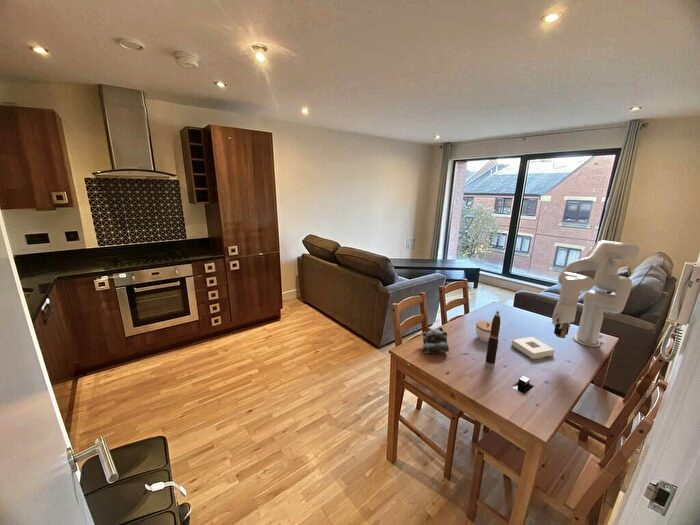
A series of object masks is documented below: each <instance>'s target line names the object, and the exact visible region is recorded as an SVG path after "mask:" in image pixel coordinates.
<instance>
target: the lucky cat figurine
mask: <svg viewBox="0 0 700 525" xmlns="http://www.w3.org/2000/svg"><path fill="white" fill-rule="evenodd" d="M422 342H423V344H422V351H423V353H424V354H439V353H441V354H442V353H449V351H450V347H449V345H448V332H447V331H444V329H443V328H442V327H439V328H433V329H431V328H427V330H426V331H424V332H422Z"/></svg>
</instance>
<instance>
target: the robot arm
mask: <svg viewBox="0 0 700 525" xmlns="http://www.w3.org/2000/svg"><path fill="white" fill-rule="evenodd" d="M639 252H640V248H639V246H638V245H637V244H635V243H634V244H633V243H626V242H621V241H620V242H618V241H612V240H599V241H597V242H595V243H594V245H593V246H592V247H591V249H590V250H589V251H588V252H587V254H586V255H585V256H584V258H581V259H577V260H575V261H572V262H571V263H569V264H567V265H565V267H564V268H563V269H562V270H561V272H560V274H559V276H558V279H557V281H558V284H559V285H561V286H560V291H559V296H558V300H557V303H556V305H555V306H554V310H553V313H552V317H551V320H552V322H551V324H553V325H554V330H553V334H554V335H555V336H556V335H558V336H561V332H562V329H561V327H562V325H563V323H568V326H567V331H566V335H565V336H568V335H569V334H568V333H569V330H570V328H571V325H572V323H574V322H575V319H576V315H577V307H578V306H577V305H578V301H579V296H580V293H581V292H585V293H584V294H583V306H582V311H581V312H582V313H581V316H580V321H579V325H578V330H577V334H574V335H572V339H573V341H575V342H576V343H578V344H579V345H582V346H586V347H590V348H598V347H600V346H601V342H600V341H599V340H600V339H602V338H604V337H603V335H602V334H600V333H601V328H602V325H603V321H604V313H603V311H605V312H609V313H612V314H620V313H622V312H623V311H624V309H625V306H626V304H627V302H628V299H629V296H630V293H631V291H632V287H633V282H632V281H633V280H632V279H631V278H630V277H627V276H622V275H618V272H619V269H620V264H619V262H618V260H621V261H633V260H635V259H636V258H637V256H638V255H639ZM588 271H596V272H595V275H594V278H593V277H592V276H591V277H590V276H587V275H584V274H579V273H580V272H588ZM578 272H579V273H578ZM594 287H595V288H596V289H599V290H602V291H599V290H596V289H595V290H594V289H593V288H594ZM592 289H593V290H592ZM605 291H606V292H605ZM607 291H608V292H611V293H608V292H607ZM613 293H615V294H613ZM558 323H559V324H560V325H559V324H558Z"/></svg>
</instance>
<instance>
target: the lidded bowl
mask: <svg viewBox="0 0 700 525" xmlns="http://www.w3.org/2000/svg"><path fill="white" fill-rule="evenodd" d="M475 326H476V327H475V333H476V336H477V337H478V338H479V340H480V341H481V342H484V343H488V341H489V338H490V333H491V326H492V321H489V320H487V321H486V320H479V321H477V322H476V323H475ZM500 329H501V328H500ZM500 329H499V331H500Z"/></svg>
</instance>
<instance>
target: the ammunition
mask: <svg viewBox="0 0 700 525" xmlns="http://www.w3.org/2000/svg"><path fill="white" fill-rule="evenodd" d="M500 315H501V314H500V311H498V310H497V311H496V312H495V314H494V315H493V318H492V321H491V322H492V326H491V333H490V338H489V341H488V342H487V348H486V349H487V350H486V356H485V361H484V362H485V363H484V366H486V367H488V368H490V369H491V368H492V369H494V368H495V364H496V359H497V358H496V357H497V351H498V345H499V334H500V330H499V329H501V316H500Z"/></svg>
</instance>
